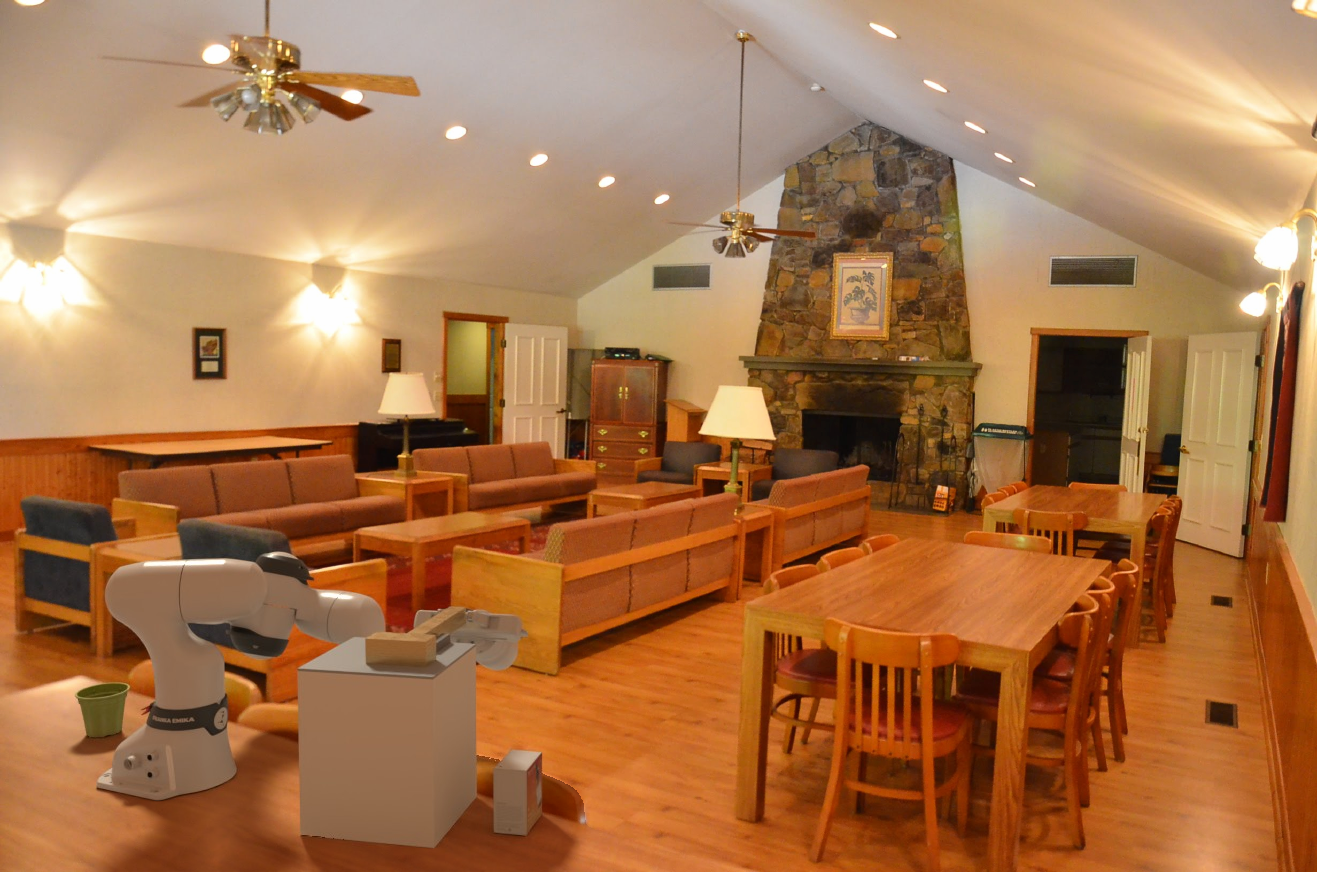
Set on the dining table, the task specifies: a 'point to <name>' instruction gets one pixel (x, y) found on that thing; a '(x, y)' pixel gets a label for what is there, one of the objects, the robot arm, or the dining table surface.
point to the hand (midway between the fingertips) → (455, 613)
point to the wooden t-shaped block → (413, 641)
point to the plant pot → (103, 708)
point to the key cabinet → (387, 745)
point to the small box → (517, 792)
